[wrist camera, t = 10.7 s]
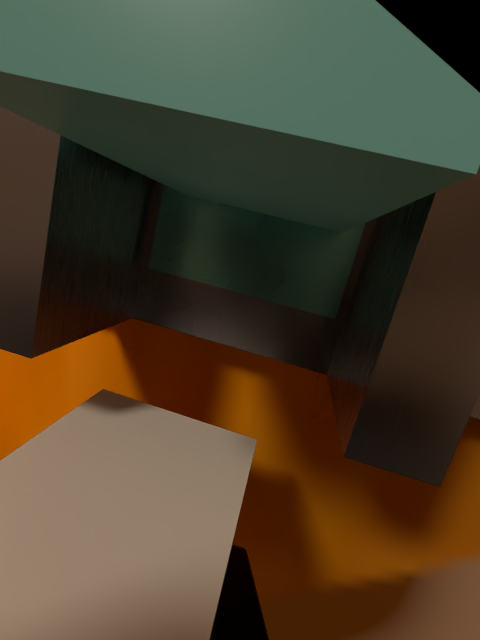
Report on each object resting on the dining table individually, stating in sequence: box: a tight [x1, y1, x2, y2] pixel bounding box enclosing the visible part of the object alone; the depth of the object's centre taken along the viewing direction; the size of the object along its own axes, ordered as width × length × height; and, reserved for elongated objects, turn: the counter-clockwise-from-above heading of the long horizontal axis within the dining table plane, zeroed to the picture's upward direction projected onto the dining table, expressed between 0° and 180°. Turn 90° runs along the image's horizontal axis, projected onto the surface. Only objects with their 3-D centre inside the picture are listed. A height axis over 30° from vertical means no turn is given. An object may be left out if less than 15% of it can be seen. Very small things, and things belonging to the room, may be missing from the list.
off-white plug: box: [0, 389, 257, 640], centre depth 6 cm, size 4×4×7 cm
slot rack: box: [0, 106, 480, 487], centre depth 7 cm, size 18×11×5 cm, turn 75°
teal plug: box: [0, 0, 480, 233], centre depth 5 cm, size 4×4×7 cm
